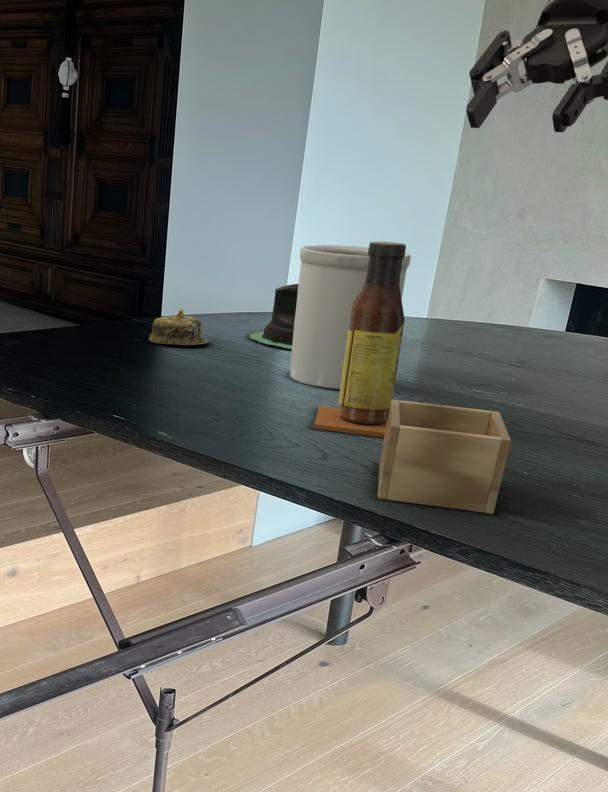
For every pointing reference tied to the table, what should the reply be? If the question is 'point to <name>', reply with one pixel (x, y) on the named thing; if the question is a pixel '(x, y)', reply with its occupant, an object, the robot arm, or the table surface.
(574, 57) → the robot arm
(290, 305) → the chocolate cake
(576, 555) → the table surface
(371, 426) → the cork mat
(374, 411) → the sauce bottle
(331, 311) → the utensil holder
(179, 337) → the cake
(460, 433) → the box
